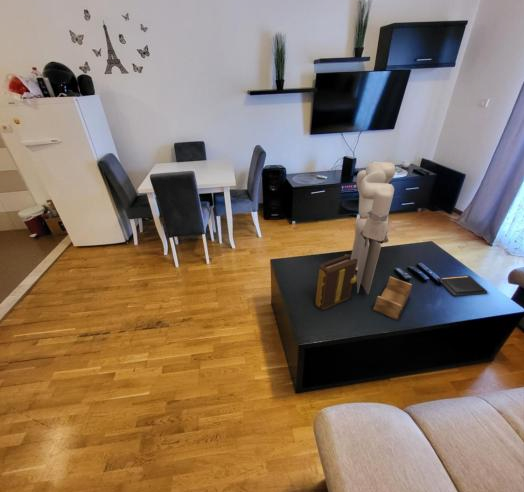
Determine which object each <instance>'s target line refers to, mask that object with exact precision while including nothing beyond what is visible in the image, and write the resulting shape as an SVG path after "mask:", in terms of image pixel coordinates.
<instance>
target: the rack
mask: <svg viewBox="0 0 524 492" xmlns="http://www.w3.org/2000/svg"><path fill="white" fill-rule="evenodd" d="M412 287H413V284H412V283H409V282H407V281H404V280H401V279H398V278H396V277H393V276H389V278H388V281H387V285H386V287H385V288H384V290H383V291H382V293H381V295H377V296H376V300H375V303H374V306H373V307H372V310H373V311H376V312H377V313H380V314H382V315H384V316H387V317H388V318H392V319H393V320H396V321H398V320H399V318H400V315H401V313H402V311H403V309H404V307H405V305H406V303H407V301H408V300H409V297H410V294H411V292H412Z"/></svg>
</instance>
